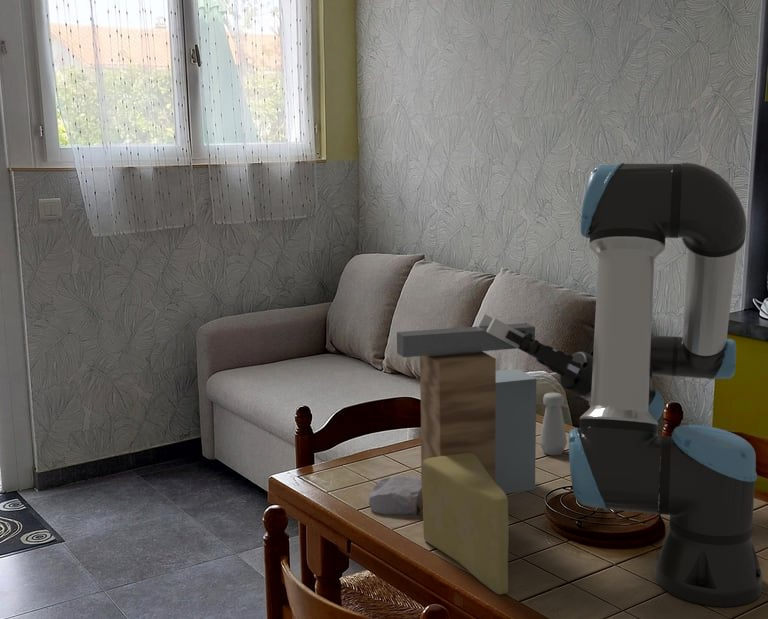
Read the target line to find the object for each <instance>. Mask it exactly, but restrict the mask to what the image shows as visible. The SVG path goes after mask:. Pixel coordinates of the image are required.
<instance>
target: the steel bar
mask: <svg viewBox="0 0 768 619" xmlns="http://www.w3.org/2000/svg"><path fill="white" fill-rule="evenodd" d="M506 324H507V323H506ZM507 325H508V326H510V327H512V328H514V329H516V330H518V331H519V332H521V333H523V334H525V336H524V338H526V336H527V334H528V332H529V333H531V334H533V337H532V338H531V339H533V340H536V326H534V325H531V324H529V323H527V322H524V323H523V322H522V323H509V324H507ZM488 327H489V326H477V325H476V326H466V327H464V326H463V327H451V328H450V327H449V328H440V329H439V328H437V329H422V330H409V331H408V330H407V331H396V353H397V354H398V355H399V356H401V357H402V358H412V357H413V358H414V357H420V356H428V355H441V354H453V353H466V352H479V351H482V352H490V351H491V352H492V351H503V350H513V349H517V350H518V348H516V347H514V346H512V345H510V344H508V343H506V342H505V341H503V340H501V339H499V338H497V337H495V336H493V335H491V334H490V333H488V332H486V331H487V329H488ZM520 347H521V346H519V348H520Z"/></svg>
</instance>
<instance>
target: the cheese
mask: <svg viewBox="0 0 768 619" xmlns="http://www.w3.org/2000/svg"><path fill="white" fill-rule="evenodd" d="M422 473H423V516H422V520H423V521H422V523H423V524H422V525H423V526H422V530H423V540H424V541H425V542H426V543H428V544H430V545H431V546H433V547H434V548H436V549H437V550H438V551H440V552H441V553H444V555H447V556H448V557H449V558H451V559H453V560H454V561H456V562H457V563H458V564H460V565H461V566H462V567H463V568H465V569H466V570H467V571H468V572H469V573H470V574H471V575H472V576H474V578H475V579H477V581H479V582H480V583H482V584H483V585H484V586H486V587H487V588H489V589H490V590H491V591H492V592H493V593H495V594H497V595H506V594H508V592H509V543H510V542H509V537H510V536H509V535H510V534H509V531H510V530H509V528H510V526H509V501H508V500H509V499H508V496H507V494H505V492H504V491H503V490H502V489H501V488H500V487H499V486H498V485H497V484H496V483H495V482H494V480H493V479H492V478H491V477H490V475H489V474H488V473H487V471H486V470H485V468H484V467H483V465H482V463H481V462H480V460H479V459H478V458H477V456H476V455H475V454H473V453H461V454H454V455H446V456H439V457H433V458H428V459H425V460H424V461H423V463H422Z"/></svg>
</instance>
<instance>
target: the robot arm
mask: <svg viewBox="0 0 768 619" xmlns="http://www.w3.org/2000/svg"><path fill="white" fill-rule="evenodd" d="M746 233H747V218H746V214H745V210H744V206H743V205H742V202H741V200H740V198H739V196H738V195H737V193H736V191H735V189H733V187H732V186H731V185H730V184H729V182H728V181H727V180H725V179H724V177H722V176H721V175H720V174H719V173H717V172H715V171H714V170H712V169H710V168H709V167H706V166H704V165H701V164H697V163H692V162H681V163H624V162H619V163H617V164H615V163H614V164H603V165H602V164H601V165H598V166H596V167H594V169H592V171H591V172H590V174H589V177H588V179H587V182H586V187H585V191H584V196H583V202H582V208H581V218H580V234H581V236H582V237H584V238H586V239H589V249H590V250H591V251H592V252H593V253H594V254H595V256H597V259H598V262H597V276H596V277H597V278H596V300H595V318H594V338H593V355H591V354H589V353H587V352H585V351H577V352H574V353H572V355H571V354H569V353H566V352H564V351H562V350H560V349H556V348H553V347H552V346H550V345H547V344H543V343H541V342H539V340H537V339H535V340H533V339H531V338H532V337H533V334H531V333H529V332H528V334H527V336H526V338H524V336H525V334H523V333H521V332H519V331H518V330H516V329H514V328H512V327H510V326H508V325H507V323H504V322H502V321H501V320H499V319H497V318H495V317H491V316H489V315H487V314H486V313H482V316H481V317H480V318H479V321H478V323H477V325H476V327H477V326H489V327H488V329H487V331H486V332H488V333H490V334H491V335H493V336H495V337H497V338H499V339H501V340H503V341H505V342H506V343H508V344H510V345H512V346H514V347H516V348H517V350H521V352H524V353H526V354H527V355H530V356H532V357H533V358H535V359H536V362H538V363H539V364H541V365H543V366H545V367H547V369H548V370H549V371H552V372H553V373H556V374H557V375H559V376H560V377H559V380H560V384H561V386H562V388H563V389H565V390H566V391H568V392H570V393H572V394H574V395H575V396H578V397H581V398H582V399H584V400H585V401H588V406H590V407H589V408H588V410H586V411H585V412H584V413H583V414H582V415H581V416H580V417H579V427H574V428H571V429H570V430H569V431H568V432H569V433H568V456H569V457H568V458H569V459H568V461H569V471H570V481H571V485H572V491H573V495H574V498H575V499H576V501H577V502H578V503H580V505H582V506H585V507H589V508H591V507H592V508H597V509H603V510H604V511H608V510H614V511H625V512H634V513H635V512H636V513H644V514H654V515H666V516H669V520H668V521H669V522H668V523H669V525H668V527H669V528H668V531H667V533H666V536H665V537H664V541H663V544H662V546H661V550H660V552H659V554H658V555H657V557H656V559H655V560H656V561H655V568H654V569H655V570H654V576H655V577H654V578H655V581H656V582H657V584H658V586H659V587H661V588H662V589H663V590H665V592H667V593H669V594H670V595H672V596H674V597H676V598H679V599H681V600H684V601H687V602H691V603H694V604H698V605H703V606H709V607H711V606H712V607H735V606H736V607H738V606H743V605H746V604H750V603H751V602H755V601H756V600H757V599H758V598H759V597H760V595H761V594H762V588H763V574H762V569H761V567H760V563H759V560H758V556H757V554H756V550H755V546H754V542H753V522H754V505H755V504H754V502H755V483H756V481H757V479H758V473H757V471H756V468H757V464H756V463H757V462H756V460H757V459H756V457H757V456H756V451H755V448H754V447H753V445H752V444H751V443H750V442H748V441H747V440H746V439H745V438H743V437H742V436H740V435H738V434H735V433H733V432H730V431H728V430H725V429H722V428H718V427H713V426H709V425H708V426H707V425H703V424H689V425H688V424H682V425H678V426H676V427H675V428H674V429H673V431H672V432H671V435H669V436H668V435H661V434H660V435H659V433H658V432H659V431H658V430H659V423H658V421H659V419H660V418H661V416H662V414H663V412H664V410H665V400H664V398H663V396H662V394H661V393H660V392H659V391H657V390H656V389H655V388H652V384H653V382H652V381H653V376H661V377H677V378H678V377H679V378H691V379H692V378H693V379H694V378H695V379H705V380H714V379H715V380H716V379H719V380H722V379H723V380H727V379H732V378H733V377H734V376H735V374H736V366H737V365H736V364H737V344H736V341H735V340H734V339H732V338H728V331H729V330H728V329H729V321H730V315H731V314H730V312H731V304H732V294H733V293H732V292H733V286H734V278H735V269H736V261H737V260H736V259H737V254H738V252H739V251H740V250H741V249H742V248H743V247H744V244H745V241H746ZM678 238H681V240H682V243H683V245H684V247H685V248H686V249H687V257H686V258H687V259H686V260H687V262H686V274H685V276H686V277H685V290H684V291H685V295H684V310H683V311H684V312H683V328H682V329H683V330H682V336H669V335H655V332H654V330H653V327H652V325H653V303H654V302H653V301H654V299H653V298H654V280H655V277H654V276H655V259H656V258H657V257H658V256H659V255H660V254H662V253H663V252H664V251H665V249H666V239H678ZM519 346H521V347H520V348H519Z"/></svg>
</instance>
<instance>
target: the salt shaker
mask: <svg viewBox="0 0 768 619" xmlns="http://www.w3.org/2000/svg"><path fill="white" fill-rule="evenodd" d="M542 402H543V405H544V406H545V411H544V416H543V420H542V421H543V422H542V426H541V431H540V435H539V436H540V437H539V441H538V443H539V445H540V447H541V450H542V452H543V454H544V455H548V456H553V457H554V456H560V455H562V454H563V453H564V451H565V449H566V446H567V445H568V440H567V434H566V433H567V432H566V427H565V422H564V421H565V420H564V416H563V410H562V406H563V405H564V402H565V398H564V395H563V394H561V393H559V392H547V393H544V395H543V398H542Z"/></svg>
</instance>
